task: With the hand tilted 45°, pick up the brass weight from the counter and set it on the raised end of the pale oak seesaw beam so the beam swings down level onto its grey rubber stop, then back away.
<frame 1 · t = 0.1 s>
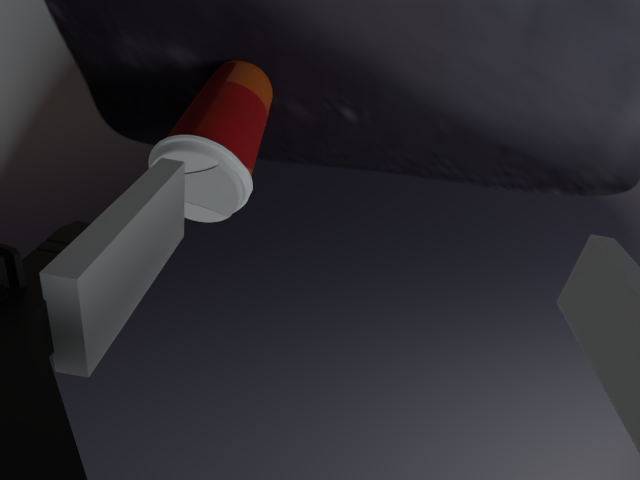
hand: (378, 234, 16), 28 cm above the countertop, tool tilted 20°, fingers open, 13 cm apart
paper cup: (244, 87, 45), on the countertop
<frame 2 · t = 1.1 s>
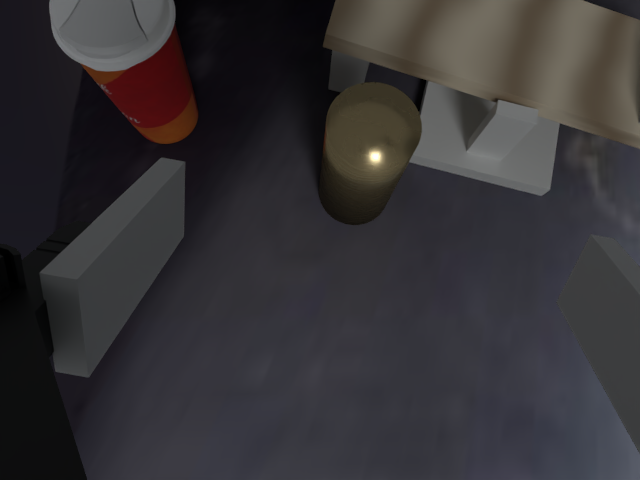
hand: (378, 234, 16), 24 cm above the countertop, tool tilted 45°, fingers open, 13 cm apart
paper cup: (167, 117, 43), on the countertop
seesaw stand: (489, 99, 45), on the countertop
brass weight: (353, 191, 42), on the countertop
beam: (535, 39, 36), point 9 cm above the countertop, hinge at -6.0°
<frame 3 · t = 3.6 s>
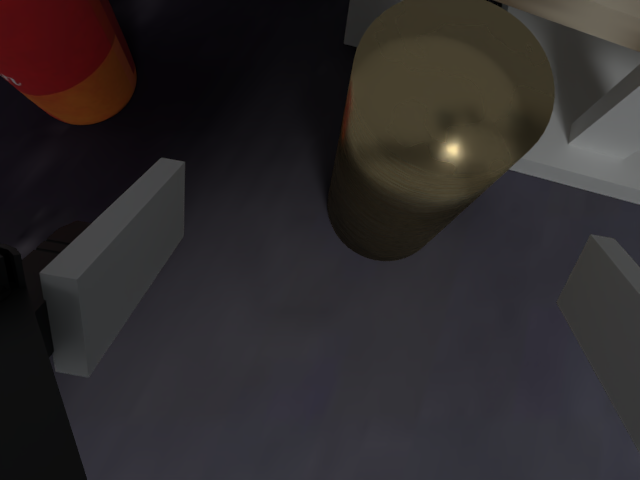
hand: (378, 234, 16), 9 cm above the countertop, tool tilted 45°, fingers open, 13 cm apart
paper cup: (87, 83, 27), on the countertop
seesaw stand: (594, 64, 29), on the countertop
brass weight: (383, 205, 26), on the countertop
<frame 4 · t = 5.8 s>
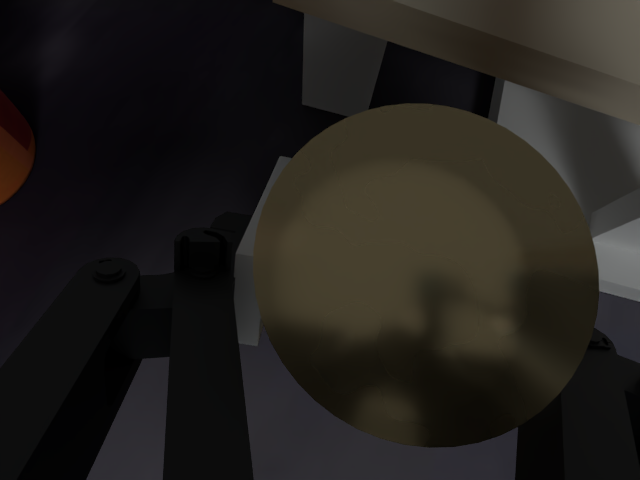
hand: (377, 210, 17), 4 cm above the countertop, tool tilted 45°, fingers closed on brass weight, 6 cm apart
seesaw stand: (616, 127, 23), on the countertop
brass weight: (351, 319, 20), on the countertop, touching gripper
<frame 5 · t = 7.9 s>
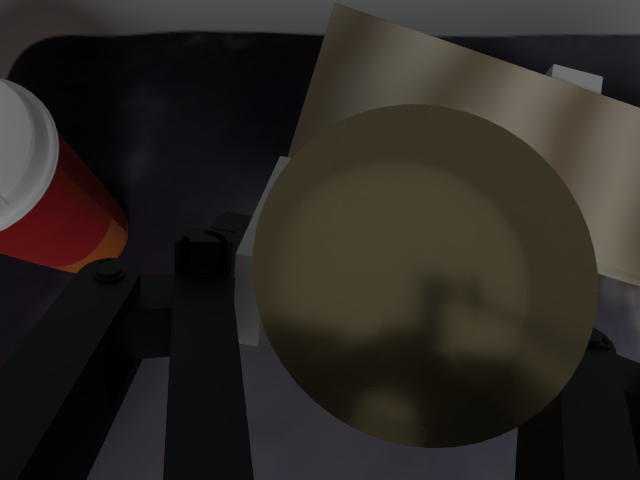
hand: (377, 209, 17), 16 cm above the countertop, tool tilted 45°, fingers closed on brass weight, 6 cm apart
paper cup: (88, 235, 33), on the countertop
seesaw stand: (504, 211, 35), on the countertop
brass weight: (351, 319, 20), point 13 cm above the countertop, touching gripper
beam: (573, 164, 27), point 9 cm above the countertop, hinge at -6.0°
when the fingers open (13 cm above the countertop, at t = 10.0 s): brass weight stays where it is, resting on beam.
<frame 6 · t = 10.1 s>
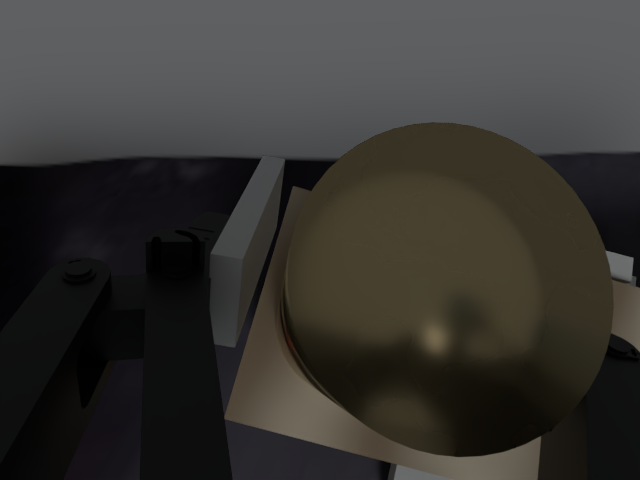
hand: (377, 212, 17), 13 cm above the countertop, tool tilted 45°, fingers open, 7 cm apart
seesaw stand: (510, 382, 29), on the countertop
brass weight: (348, 321, 20), point 9 cm above the countertop, touching beam, gripper
beam: (598, 389, 21), point 9 cm above the countertop, hinge at -4.4°, touching brass weight
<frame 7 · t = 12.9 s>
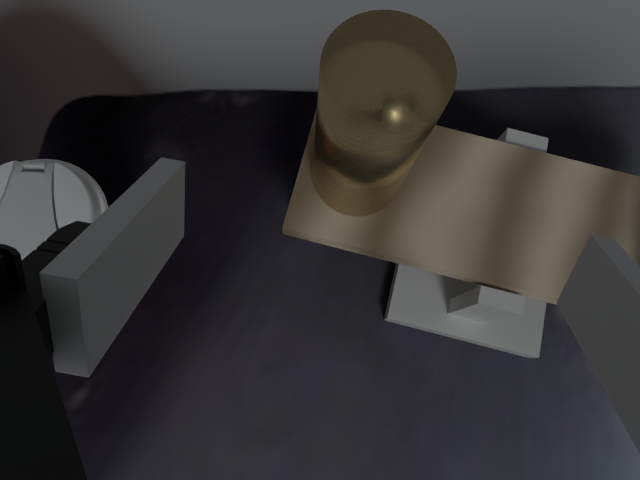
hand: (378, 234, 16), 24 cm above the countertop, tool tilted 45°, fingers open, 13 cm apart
paper cup: (118, 270, 39), on the countertop
seesaw stand: (473, 245, 41), on the countertop
brass weight: (356, 174, 33), point 8 cm above the countertop, touching beam
beam: (519, 213, 33), point 9 cm above the countertop, hinge at 0.2°, touching brass weight
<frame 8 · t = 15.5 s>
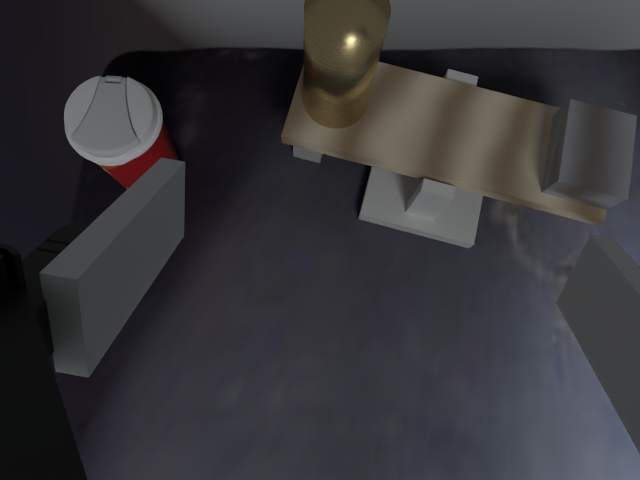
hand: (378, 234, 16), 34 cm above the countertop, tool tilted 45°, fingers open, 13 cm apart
paper cup: (157, 180, 52), on the countertop
seesaw stand: (428, 165, 53), on the countertop
brass weight: (335, 99, 45), point 8 cm above the countertop, touching beam
beam: (452, 128, 45), point 9 cm above the countertop, hinge at 0.2°, touching brass weight
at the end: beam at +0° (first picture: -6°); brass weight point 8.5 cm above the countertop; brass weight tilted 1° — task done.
